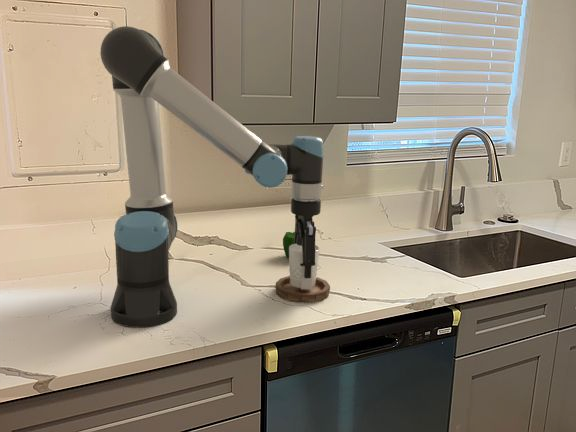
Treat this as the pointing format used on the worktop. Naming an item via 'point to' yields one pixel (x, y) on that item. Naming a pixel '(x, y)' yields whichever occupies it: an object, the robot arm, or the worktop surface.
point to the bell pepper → (288, 242)
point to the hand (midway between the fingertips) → (302, 282)
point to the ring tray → (302, 291)
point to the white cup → (295, 267)
